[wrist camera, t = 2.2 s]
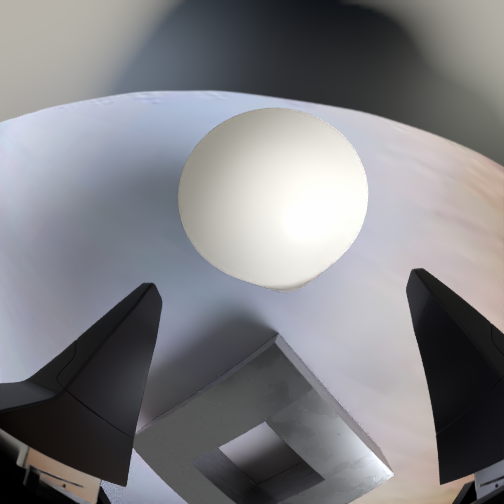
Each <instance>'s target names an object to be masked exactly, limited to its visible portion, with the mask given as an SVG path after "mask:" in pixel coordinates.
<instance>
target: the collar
mask: <svg viewBox="0 0 504 504" xmlns="http://www.w3.org/2000/svg"><path fill="white" fill-rule="evenodd" d="M264 421H265V422H266V423H267V424H268V425H269V426H270V427H271V428H272V429H273V430H274V431H275V432H276V433H277V434H278V435H279V436H280V437H281V438H282V439H283V440H284V441H285V442H286V443H287V444H288V445H289V446H290V447H291V448H292V449H293V450H294V451H295V452H296V453H297V454H298V455H299V456H300V457H301V458H302V459H303V460H304V461H303V462H301V463H299V464H298V465H296V466H294V467H292V468H290V469H288V470H286V471H285V472H283V473H281V474H279V475H277V476H275V477H272V478H270V479H268V480H266V481H264V482H262V483H260V484H256V483H254V482H253V481H252V480H251V479H250V478H249V477H248V476H247V475H245V474H244V473H243V472H242V471H241V470H240V469H239V468H238V467H237V466H236V465H235V464H234V463H233V462H231V461H230V460H229V459H228V458H227V457H226V456H225V455H224V454H223V453H222V452H221V451H220V450H219V449H218V447H220V446H222V445H224V444H226V443H228V442H229V441H231V440H233V439H235V438H237V437H239V436H240V435H242V434H244V433H246V432H247V431H249V430H251V429H252V428H254V427H256V426H257V425H259V424H261V423H262V422H264ZM133 440H134V443H133V448H134V449H135V451H136V452H137V453H138V454H139V455H140V456H141V457H142V459H143V460H144V461H145V462H146V463H147V464H148V465H149V466H150V467H151V468H152V469H153V470H154V471H155V472H156V474H157V475H158V476H159V477H160V478H161V479H162V480H163V481H164V482H165V483H166V484H168V485H169V486H170V487H171V488H172V489H173V490H174V491H175V492H176V493H177V494H178V495H179V496H180V497H182V498H183V499H184V500H185V501H186V502H187V503H188V504H348V503H350V502H352V501H354V500H355V499H357V498H359V497H361V496H362V495H364V494H366V493H367V492H369V491H371V490H372V489H374V488H375V487H377V486H378V485H380V484H382V483H383V482H385V481H386V480H387V479H389V478H390V477H392V476H393V475H394V473H393V471H392V469H391V468H390V466H389V464H388V462H387V460H386V459H385V457H384V455H383V453H382V451H381V450H380V448H379V447H378V446H377V445H376V444H375V443H374V442H373V441H372V440H371V438H370V437H369V436H368V435H367V434H366V433H365V432H364V431H363V430H362V429H361V427H360V426H359V425H358V424H357V423H356V422H355V421H354V420H353V419H352V418H351V416H350V415H349V414H348V413H347V412H346V411H345V410H344V409H343V407H342V406H341V405H340V404H339V403H338V402H337V401H336V399H335V398H334V397H333V396H332V395H331V394H330V393H329V392H328V390H327V389H326V388H325V387H324V386H323V385H322V383H321V382H320V381H319V380H318V379H317V378H316V377H315V375H314V374H313V373H312V372H311V371H310V370H309V368H308V367H307V366H306V365H305V364H304V362H303V361H302V360H301V359H300V358H299V357H298V355H297V354H296V353H295V352H294V351H293V349H292V348H291V347H290V346H289V345H288V344H287V342H286V341H285V340H284V339H283V338H282V336H281V335H280V334H279V333H278V334H277V335H276V336H274V337H273V338H272V339H270V340H269V341H268V342H267V343H265V344H264V345H263V346H261V347H260V348H259V349H257V350H256V351H255V352H253V353H252V354H251V355H249V356H248V357H247V358H245V359H244V360H243V361H241V362H240V363H238V364H237V365H236V366H234V367H233V368H231V369H230V370H229V371H227V372H226V373H224V374H223V375H222V376H220V377H219V378H217V379H216V380H214V381H213V382H211V383H210V384H209V385H207V386H206V387H204V388H203V389H201V390H200V391H198V392H197V393H195V394H194V395H192V396H191V397H189V398H187V399H186V400H184V401H183V402H181V403H180V404H178V405H177V406H175V407H173V408H172V409H170V410H169V411H167V412H165V413H164V414H162V415H160V416H159V417H157V418H155V419H154V420H152V421H151V422H149V423H148V424H147V425H145V426H144V427H143V428H141V429H140V430H139V431H137V432H136V433H135V437H134V439H133Z"/></svg>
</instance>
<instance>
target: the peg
mask: <svg viewBox="0 0 504 504" xmlns="http://www.w3.org/2000/svg"><path fill="white" fill-rule="evenodd" d="M367 204H368V186H367V179H366V175H365V171H364V168H363V165H362V163H361V160H360V158H359V156H358V155H357V153H356V151H355V149H354V148H353V147H352V145H351V144H350V143H349V141H348V140H347V139H346V138H345V137H344V136H343V135H342V134H341V133H340V132H339V131H338V130H336V129H335V128H334V127H333V126H331V125H330V124H328V123H327V122H325V121H323V120H321V119H320V118H317V117H315V116H313V115H311V114H308V113H304V112H301V111H297V110H292V109H284V108H265V109H258V110H253V111H249V112H245V113H242V114H239V115H237V116H234V117H232V118H230V119H228V120H226V121H224V122H223V123H221V124H219V125H218V126H216V127H215V128H214V129H212V130H211V131H210V132H209V133H208V134H207V135H205V137H204V138H203V139H202V140H201V141H200V142H199V143H198V144H197V146H196V147H195V148H194V150H193V151H192V153H191V154H190V156H189V158H188V160H187V161H186V164H185V166H184V169H183V171H182V175H181V178H180V182H179V190H178V207H179V214H180V218H181V221H182V225H183V228H184V230H185V232H186V234H187V236H188V238H189V240H190V241H191V243H192V244H193V246H194V247H195V249H196V250H197V251H198V252H199V253H200V254H201V256H202V257H203V258H205V259H206V260H207V261H208V262H209V263H210V264H212V265H213V266H214V267H216V268H218V269H219V270H221V271H222V272H224V273H226V274H228V275H231V276H233V277H235V278H238V279H241V280H244V281H247V282H250V283H253V284H255V285H258V286H261V287H264V288H267V289H270V290H273V291H277V292H281V293H291V292H295V291H298V290H300V289H302V288H304V287H305V286H306V285H308V284H309V283H310V282H311V281H313V280H314V279H315V278H316V277H317V276H319V275H320V274H321V273H322V272H323V271H325V270H326V269H327V268H328V267H329V266H331V265H332V264H333V263H334V262H335V261H337V260H338V259H339V258H340V257H341V256H342V255H343V254H344V253H345V252H346V251H347V250H348V248H349V247H350V246H351V244H352V243H353V241H354V240H355V239H356V237H357V235H358V233H359V231H360V229H361V227H362V224H363V221H364V218H365V215H366V210H367Z"/></svg>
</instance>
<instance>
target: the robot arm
mask: <svg viewBox="0 0 504 504" xmlns="http://www.w3.org/2000/svg"><path fill="white" fill-rule="evenodd" d="M406 293H407V298H408V303H409V307H410V312H411V318H412V323H413V328H414V332H415V336H416V340H417V343H418V347H419V351H420V354H421V358H422V362H423V367H424V371H425V375H426V380H427V384H428V389H429V394H430V400H431V405H432V411H433V417H434V424H435V431H436V440H437V450H438V461H439V477H440V485H442V484H445V483H448V482H451V481H454V480H457V479H460V478H463V477H465V476H468V475H471V474H473V473H474V478H475V479H474V480H472V481H470V482H468V483H466V484H464V486H463V488H462V489H461V491H460V493H459V494H458V496H457V497H456V499H455V500H454V502H453V503H452V504H504V334H503V333H502V332H501V331H500V330H499V329H498V328H496V327H495V326H494V325H493V324H492V323H490V321H488V320H487V319H486V318H485V317H484V316H483V315H482V314H480V313H479V312H478V311H477V310H476V309H474V308H473V307H472V306H471V305H470V304H468V303H467V302H466V301H465V300H464V299H462V298H461V297H460V296H459V295H457V294H456V293H455V292H454V291H452V290H451V289H450V288H448V287H447V286H446V285H445V284H443V283H442V282H441V281H439V280H438V279H437V278H435V277H434V276H433V275H431V274H430V273H429V272H427V271H426V270H425V269H423V268H416V269H412V271H411V273H410V276H409V280H408V283H407V287H406ZM161 309H162V298H161V296H160V294H159V292H158V290H157V287H156V285H155V284H154V283H143V284H141V285H140V286H139V287H138V288H136V289H135V290H134V291H133V292H131V293H130V294H129V295H128V296H127V297H125V298H124V299H123V300H122V301H121V302H119V303H118V304H117V305H116V306H115V307H113V308H112V309H111V310H110V311H109V312H108V313H106V314H105V315H104V316H103V317H102V318H100V319H99V320H98V321H97V322H96V323H95V324H94V325H92V326H91V327H90V328H89V329H88V330H87V331H85V332H84V333H83V334H82V335H81V336H80V337H79V338H78V339H77V340H75V341H74V342H73V343H72V344H71V345H70V346H68V347H67V348H66V349H65V350H64V351H63V352H62V353H60V354H59V355H58V356H57V357H55V358H54V359H53V360H52V361H50V362H49V363H48V364H47V365H45V366H44V367H43V368H41V369H40V370H39V371H38V372H36V373H35V374H34V375H33V376H31V377H30V378H28V379H26V380H24V381H21V382H15V383H0V504H111V502H110V501H109V499H108V497H107V495H106V494H105V492H104V490H103V488H102V487H101V486H100V485H101V481H102V480H105V481H108V482H111V483H114V484H117V485H120V486H124V487H126V485H127V480H128V473H129V466H130V460H131V454H132V448H133V443H134V440H133V439H134V437H135V431H136V426H137V421H138V416H139V411H140V407H141V402H142V397H143V393H144V389H145V384H146V380H147V376H148V372H149V368H150V364H151V360H152V356H153V352H154V348H155V344H156V340H157V334H158V328H159V321H160V315H161Z"/></svg>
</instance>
